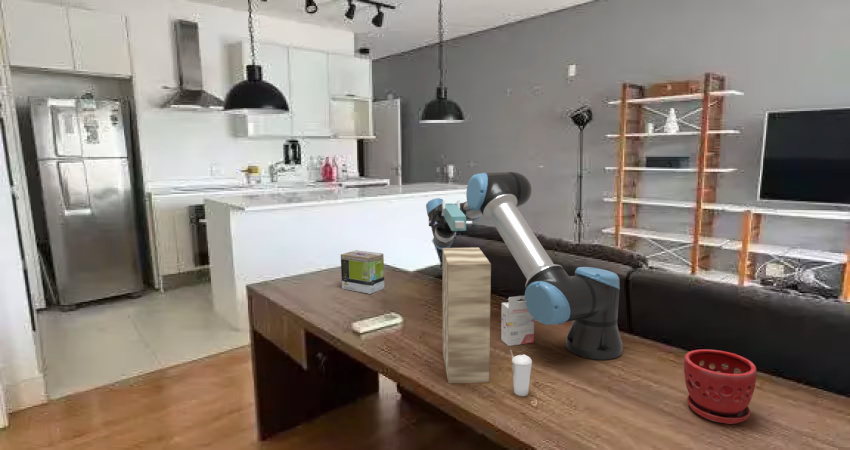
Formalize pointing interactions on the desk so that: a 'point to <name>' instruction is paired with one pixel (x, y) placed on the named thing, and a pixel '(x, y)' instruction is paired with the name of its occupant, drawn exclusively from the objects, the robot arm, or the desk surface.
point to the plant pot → (719, 385)
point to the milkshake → (521, 374)
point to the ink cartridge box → (516, 322)
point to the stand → (466, 314)
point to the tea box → (362, 271)
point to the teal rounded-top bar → (455, 217)
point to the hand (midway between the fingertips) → (451, 204)
